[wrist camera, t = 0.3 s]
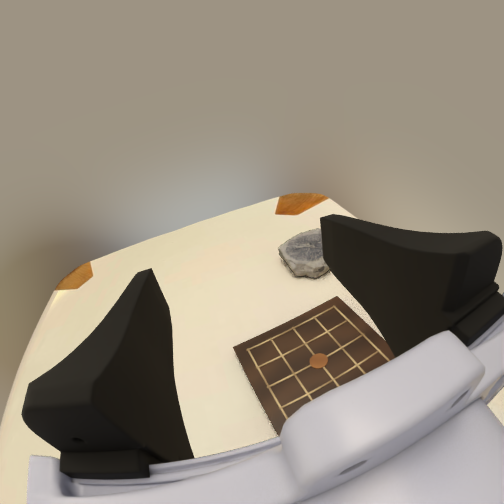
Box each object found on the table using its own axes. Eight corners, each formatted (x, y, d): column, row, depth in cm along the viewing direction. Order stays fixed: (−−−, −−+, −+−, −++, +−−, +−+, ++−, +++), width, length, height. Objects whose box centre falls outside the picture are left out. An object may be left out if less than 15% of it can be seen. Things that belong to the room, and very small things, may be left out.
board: (412, 374, 24) (415, 368, 23) (288, 453, 21) (286, 449, 20) (337, 302, 36) (337, 295, 36) (235, 352, 33) (232, 346, 33)
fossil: (339, 262, 39) (271, 253, 41) (335, 285, 41) (270, 277, 43) (339, 230, 49) (284, 223, 51) (336, 250, 51) (283, 243, 53)
